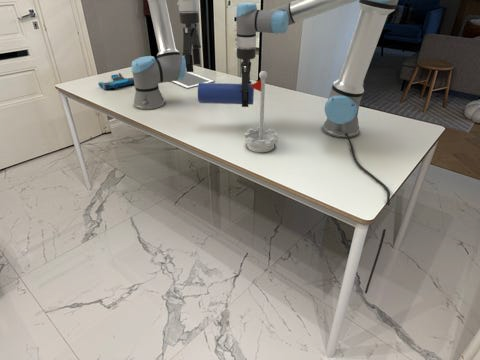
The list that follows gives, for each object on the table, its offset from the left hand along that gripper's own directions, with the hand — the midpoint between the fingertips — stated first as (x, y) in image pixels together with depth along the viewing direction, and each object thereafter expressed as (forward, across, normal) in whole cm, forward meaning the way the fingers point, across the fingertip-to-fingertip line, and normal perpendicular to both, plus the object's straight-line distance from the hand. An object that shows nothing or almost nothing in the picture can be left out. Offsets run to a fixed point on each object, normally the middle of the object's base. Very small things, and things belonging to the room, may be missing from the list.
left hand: (193, 67), depth 143 cm
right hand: (+14, +3, +22) cm, 26 cm away
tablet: (+23, -68, -22) cm, 75 cm away
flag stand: (+26, +19, +30) cm, 44 cm away
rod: (+14, +3, +14) cm, 20 cm away
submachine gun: (+22, -59, -57) cm, 85 cm away
